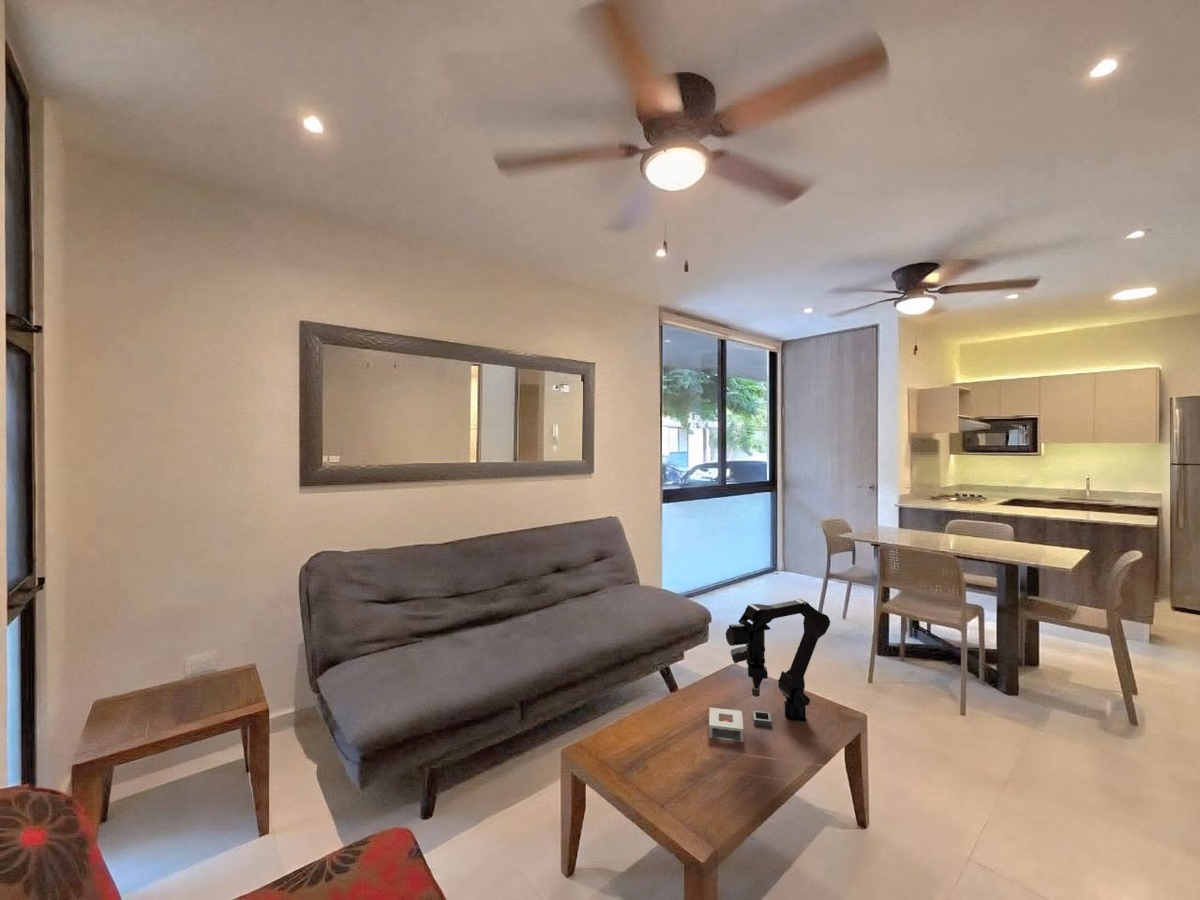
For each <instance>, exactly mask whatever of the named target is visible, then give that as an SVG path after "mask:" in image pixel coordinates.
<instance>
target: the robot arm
mask: <svg viewBox="0 0 1200 900" xmlns="http://www.w3.org/2000/svg"><path fill="white" fill-rule="evenodd" d="M798 614H800V615H801V616H803V618H804V619H803V623H802V624H803V625H802V626H803V635H802V637H801V639H800V642H799V645H798V648H797V650H796V652H795V655H794V658H793V660H792V662H791V665H790V667H789V669H788V670H787V671H781V673H780V677H779V678H778V680H777V681H778V685H777V686H778V689H779V691H780V692H781V693H782V696H784V697H785V700H784V702H783V706H784V707H783V709H784V711H783V713H784V716H785V717H786V719H787V720H788V721H797V722H807V717H806V707H807V706H809V704H810V701H811V699H810V697H808V696H807V695H806V694H805V692H804V691H805V688H806V684H805V674H806V671H807V670H808V666H809V664H810V661H811V659H812V656H813V654H814V651H815V648H816V646H817V643H818V640H819V639H820V638H822V637H823V636H824V635H825V634H826V633H827V631H828V629H829V628H830V625H831V620H830V617H829V616H828V615H827V614H825V613H823V612H821V611H819V610H817V609H816V608H814V607H813V606H812V605H810V604H809V602H808V601H804V600H803V599H802V598H797V599H795V600H790V601H784V602H779V603H774V604H769V605H768V604H761V603H752V604H751V603H750V604H748V605H747V606H746V608H745V611H744V612H743V614H742V615H741V616H740V618H739V620H738V624H733V623H732V624H729V625H728V628H726V631H725V639H726V641H727V644H728V645H729V646H730V647H731V646H739V647H736V648H732V649H731V650H730V655H731V658H732V661H733V663H734V664H738V663H742V662H744V661H746V665H748V666H747V668H746V669H747V677H749V678H751V679H752V678H753V683H754V688H755V689H758V687H759V685H760V686H761V684H762V681H763V680H764V679H765V680H767V679H768V678H769V676H768V674H769V673H768V669H767V667H766V666H765V664H766V657H765V655H766V654H765V652H766V647H765V646H766V645H765V643H766V642H765V640H766V639H765V635H766V634H765V632H766V631H769V630H771V627H770V626H769V625H768V624H769V623H771V622H772V621H773V620H775V619H778V618H784V617H789V616H794V615H798ZM741 645H742V646H741ZM743 645H745V646H743Z"/></svg>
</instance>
